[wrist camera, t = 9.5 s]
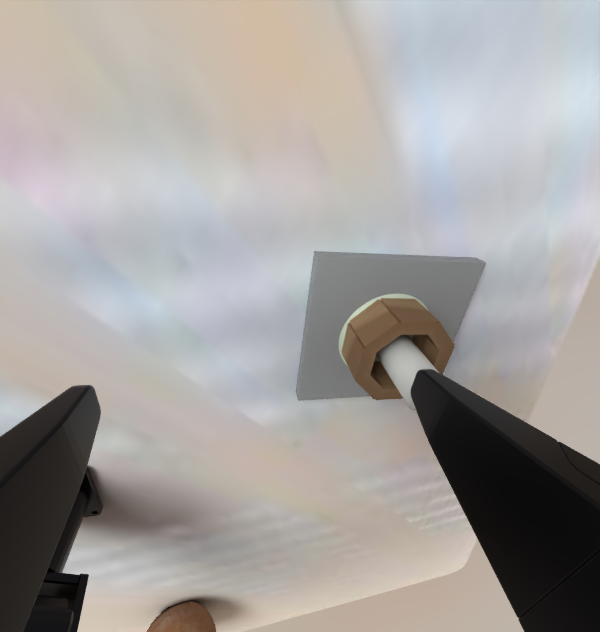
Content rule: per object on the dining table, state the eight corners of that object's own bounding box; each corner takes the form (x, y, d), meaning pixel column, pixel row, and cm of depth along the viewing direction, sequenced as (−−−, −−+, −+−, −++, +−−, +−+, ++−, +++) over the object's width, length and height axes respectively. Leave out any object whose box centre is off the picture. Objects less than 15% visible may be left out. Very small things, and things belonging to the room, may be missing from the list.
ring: (412, 369, 25) (432, 396, 23) (336, 372, 24) (349, 401, 21) (439, 299, 22) (465, 320, 20) (353, 297, 21) (370, 320, 18)
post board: (425, 384, 28) (476, 451, 22) (296, 391, 26) (315, 469, 20) (476, 257, 22) (564, 304, 16) (314, 251, 20) (349, 303, 14)
